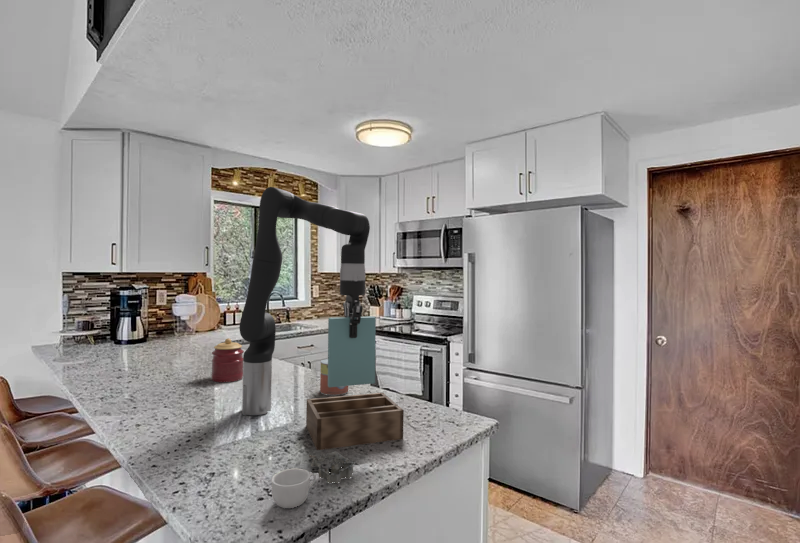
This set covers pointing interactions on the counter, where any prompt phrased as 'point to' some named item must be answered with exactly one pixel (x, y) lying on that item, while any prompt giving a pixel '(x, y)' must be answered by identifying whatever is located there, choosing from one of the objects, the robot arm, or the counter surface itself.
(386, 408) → the rack
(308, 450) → the counter surface
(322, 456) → the egg carton
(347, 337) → the teal board
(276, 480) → the teacup
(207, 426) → the counter surface
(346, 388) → the canned food
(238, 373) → the canister
